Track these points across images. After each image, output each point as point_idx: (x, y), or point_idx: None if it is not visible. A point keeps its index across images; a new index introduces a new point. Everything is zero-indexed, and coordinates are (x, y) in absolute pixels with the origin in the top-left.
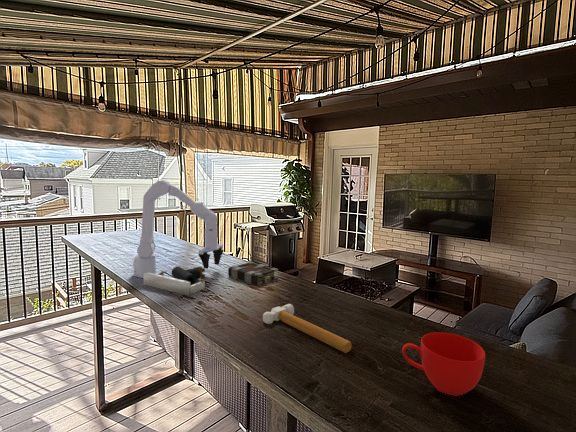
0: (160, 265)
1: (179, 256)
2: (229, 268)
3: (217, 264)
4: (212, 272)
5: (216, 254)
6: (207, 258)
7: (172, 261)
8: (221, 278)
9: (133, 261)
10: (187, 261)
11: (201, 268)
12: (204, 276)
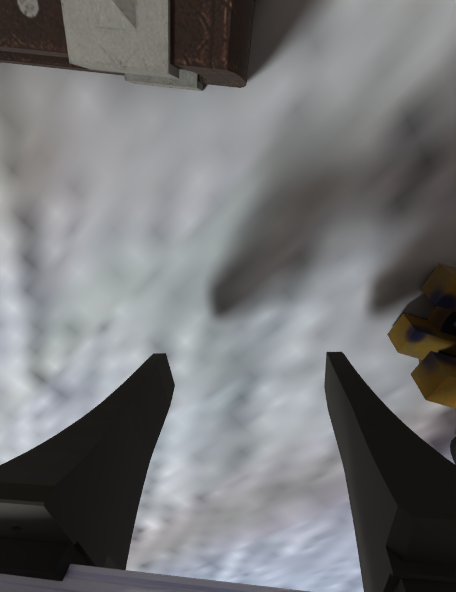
0: (317, 570)
1: (158, 573)
2: (233, 41)
3: (167, 360)
4: (243, 324)
5: (123, 476)
6: (428, 457)
7: (233, 564)
8: (354, 104)
9: None
10: (183, 530)
11: (450, 370)
12: (451, 270)
